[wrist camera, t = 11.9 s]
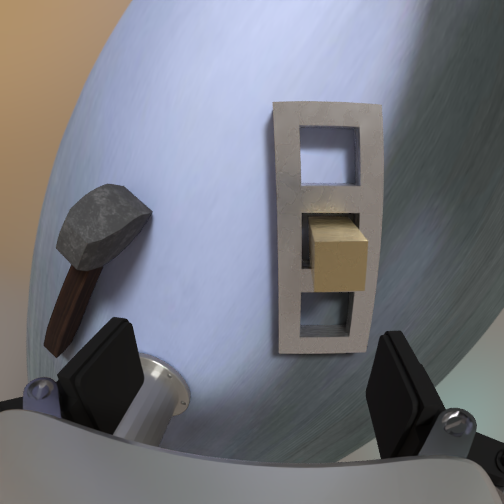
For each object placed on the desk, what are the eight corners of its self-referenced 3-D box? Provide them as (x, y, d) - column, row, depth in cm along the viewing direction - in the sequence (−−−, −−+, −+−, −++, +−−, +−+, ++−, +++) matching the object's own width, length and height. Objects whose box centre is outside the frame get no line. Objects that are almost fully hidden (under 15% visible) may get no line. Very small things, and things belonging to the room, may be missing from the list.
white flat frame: (362, 339, 34) (365, 352, 31) (279, 340, 35) (278, 353, 33) (374, 108, 26) (381, 104, 23) (274, 106, 27) (272, 102, 25)
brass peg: (346, 253, 31) (364, 290, 22) (308, 254, 31) (314, 292, 23) (347, 215, 29) (368, 240, 21) (308, 216, 30) (314, 241, 22)
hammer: (87, 334, 44) (163, 201, 31) (48, 376, 34) (98, 241, 21) (67, 316, 44) (132, 174, 31) (26, 354, 34) (60, 203, 21)
